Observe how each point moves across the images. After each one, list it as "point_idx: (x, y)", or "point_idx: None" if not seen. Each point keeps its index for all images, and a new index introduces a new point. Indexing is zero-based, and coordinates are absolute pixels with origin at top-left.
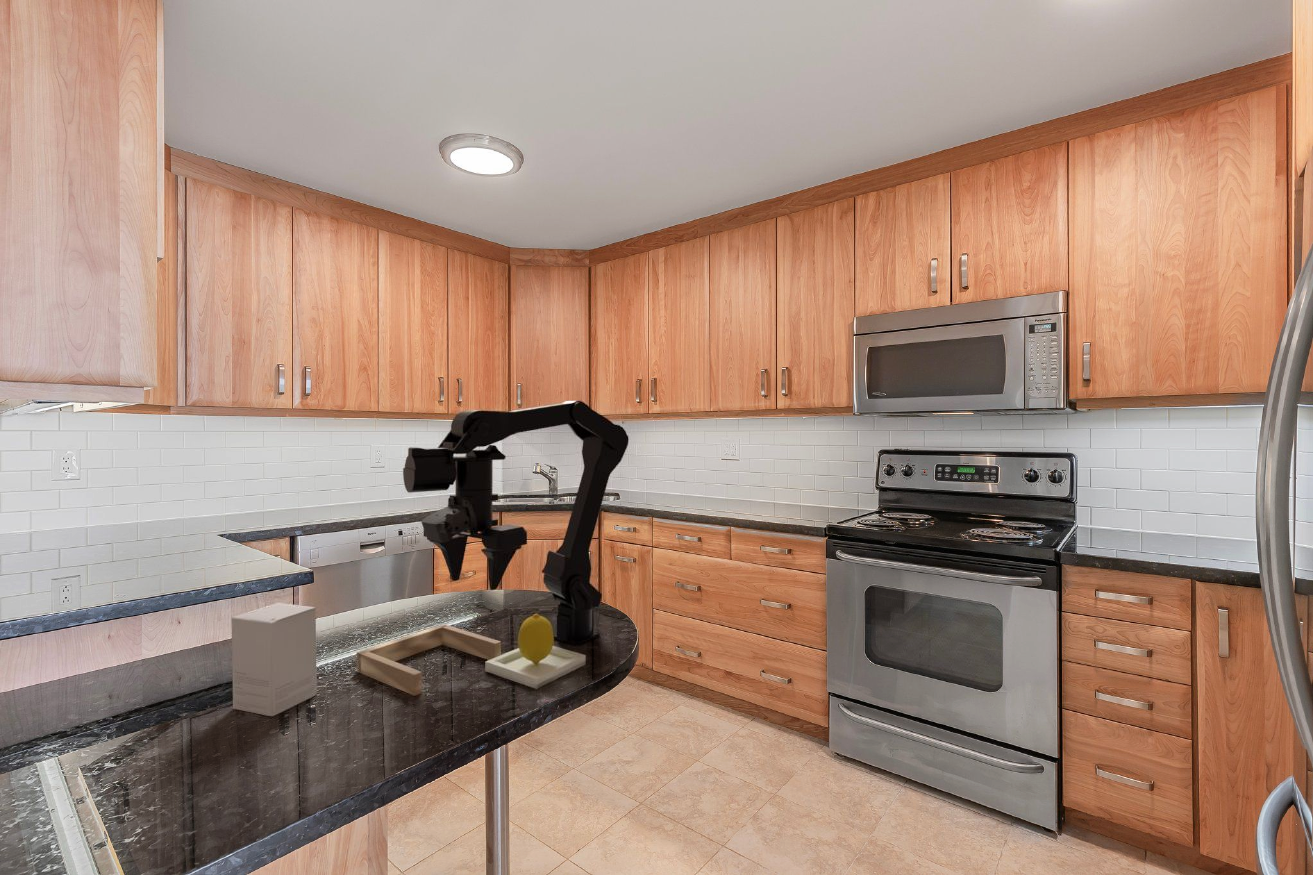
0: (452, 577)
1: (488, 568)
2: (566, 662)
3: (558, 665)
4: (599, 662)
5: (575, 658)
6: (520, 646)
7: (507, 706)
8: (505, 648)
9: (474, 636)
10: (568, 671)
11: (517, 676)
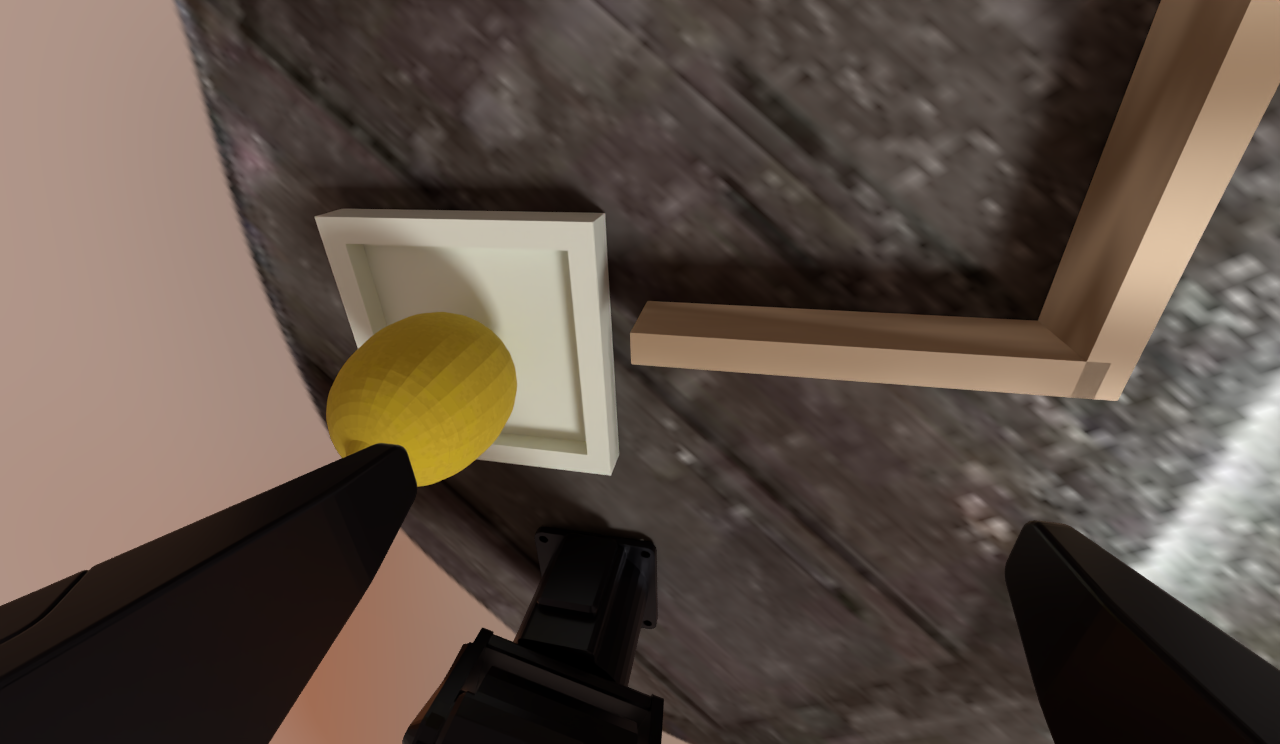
0: (1071, 547)
1: (114, 605)
2: None
3: None
4: None
5: None
6: (441, 320)
7: (272, 25)
8: (722, 417)
9: (792, 350)
10: None
11: (416, 214)
